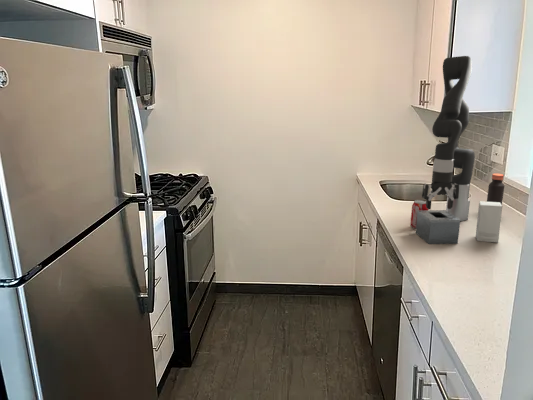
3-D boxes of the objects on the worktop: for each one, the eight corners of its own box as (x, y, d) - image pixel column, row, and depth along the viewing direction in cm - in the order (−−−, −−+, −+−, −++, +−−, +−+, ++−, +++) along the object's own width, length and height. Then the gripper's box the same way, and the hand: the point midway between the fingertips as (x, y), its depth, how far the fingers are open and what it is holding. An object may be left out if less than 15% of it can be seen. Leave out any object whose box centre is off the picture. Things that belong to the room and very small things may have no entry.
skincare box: (496, 238, 192) (501, 202, 188) (498, 243, 186) (503, 206, 182) (474, 236, 195) (478, 200, 191) (475, 241, 189) (480, 204, 185)
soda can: (427, 230, 202) (430, 204, 199) (411, 229, 203) (413, 203, 200) (425, 225, 208) (428, 200, 205) (409, 224, 210) (411, 199, 207)
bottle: (485, 215, 224) (490, 175, 219) (484, 212, 230) (489, 172, 225) (500, 217, 221) (506, 176, 216) (499, 213, 227) (505, 173, 222)
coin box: (442, 232, 199) (445, 210, 197) (457, 243, 186) (460, 219, 183) (415, 232, 199) (417, 210, 196) (428, 244, 185) (430, 220, 183)
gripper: (455, 168, 189) (451, 206, 193) (421, 168, 188) (418, 206, 192) (464, 171, 182) (460, 211, 186) (429, 171, 181) (425, 211, 185)
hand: (438, 208), depth 189 cm, fingers open, 8 cm apart
